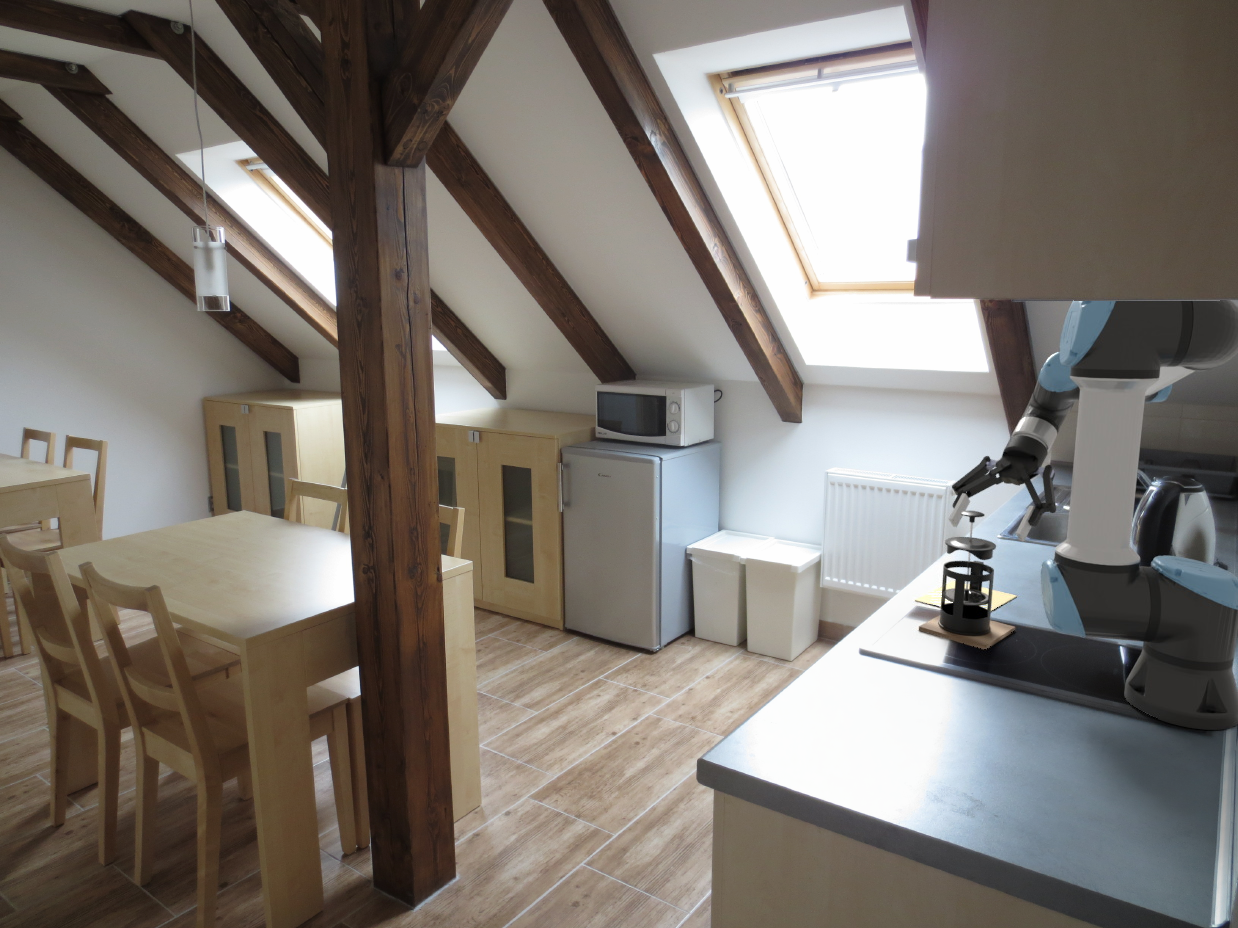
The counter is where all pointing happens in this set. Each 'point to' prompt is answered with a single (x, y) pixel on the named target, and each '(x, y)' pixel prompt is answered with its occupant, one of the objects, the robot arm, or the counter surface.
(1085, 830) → the counter surface
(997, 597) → the recipe card
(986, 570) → the french press
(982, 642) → the wooden cutting board
